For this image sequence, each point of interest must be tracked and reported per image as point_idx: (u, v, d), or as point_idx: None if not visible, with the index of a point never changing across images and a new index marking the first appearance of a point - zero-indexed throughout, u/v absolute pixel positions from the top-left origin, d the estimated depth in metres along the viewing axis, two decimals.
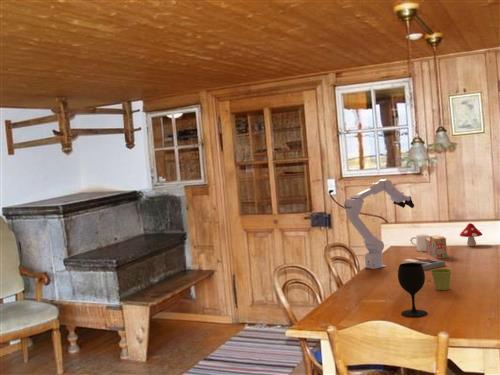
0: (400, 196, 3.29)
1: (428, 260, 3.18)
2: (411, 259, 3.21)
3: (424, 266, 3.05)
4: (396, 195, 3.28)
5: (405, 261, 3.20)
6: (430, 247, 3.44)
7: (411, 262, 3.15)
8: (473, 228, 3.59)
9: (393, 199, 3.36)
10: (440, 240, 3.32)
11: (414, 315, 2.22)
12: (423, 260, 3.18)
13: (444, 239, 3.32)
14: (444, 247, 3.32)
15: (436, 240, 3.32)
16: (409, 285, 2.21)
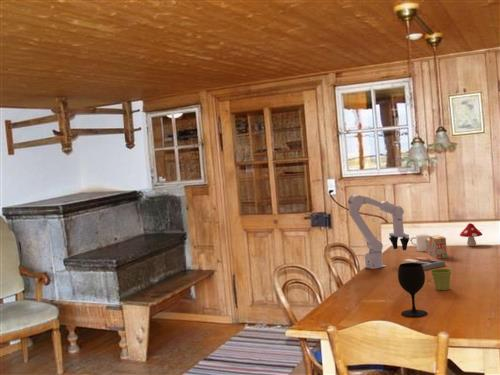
0: (401, 231, 3.23)
1: (428, 260, 3.18)
2: (411, 259, 3.21)
3: (424, 266, 3.05)
4: (399, 227, 3.23)
5: (405, 261, 3.20)
6: (430, 247, 3.44)
7: (411, 262, 3.15)
8: (473, 228, 3.59)
9: (392, 234, 3.29)
10: (440, 240, 3.32)
11: (414, 315, 2.22)
12: (423, 260, 3.18)
13: (444, 239, 3.32)
14: (444, 247, 3.32)
15: (436, 240, 3.32)
16: (409, 285, 2.21)
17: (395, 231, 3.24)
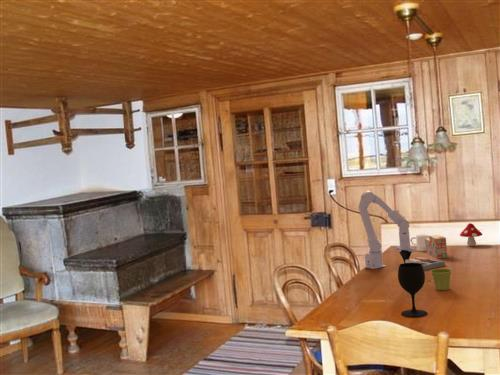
0: (408, 245, 3.19)
1: (428, 260, 3.18)
2: (412, 259, 3.20)
3: (424, 266, 3.05)
4: (405, 240, 3.19)
5: (406, 261, 3.19)
6: (430, 247, 3.44)
7: (412, 262, 3.15)
8: (473, 228, 3.59)
9: (398, 247, 3.25)
10: (440, 240, 3.32)
11: (414, 315, 2.22)
12: (423, 260, 3.18)
13: (444, 239, 3.32)
14: (444, 247, 3.33)
15: (436, 240, 3.32)
16: (409, 285, 2.21)
17: (401, 245, 3.20)
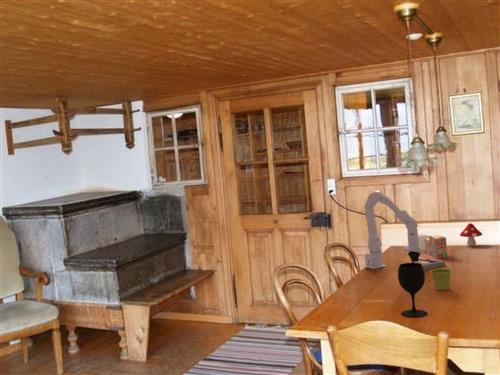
0: (416, 246, 3.13)
1: (428, 260, 3.18)
2: (421, 261, 3.14)
3: (424, 266, 3.05)
4: (414, 242, 3.13)
5: None
6: (430, 247, 3.44)
7: None
8: (473, 228, 3.59)
9: (406, 248, 3.19)
10: (440, 240, 3.33)
11: (414, 315, 2.22)
12: (423, 260, 3.18)
13: (444, 239, 3.33)
14: (444, 247, 3.33)
15: (436, 240, 3.33)
16: (409, 285, 2.21)
17: (410, 246, 3.14)
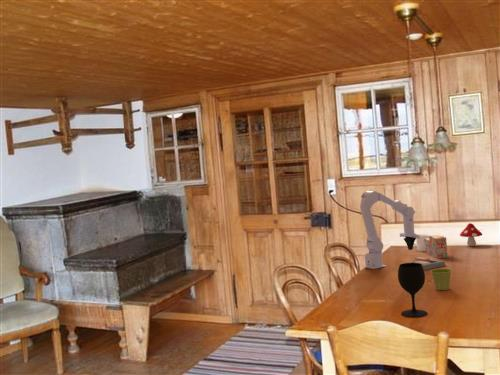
0: (412, 231, 3.26)
1: (428, 260, 3.18)
2: (421, 261, 3.14)
3: (424, 266, 3.05)
4: (410, 227, 3.26)
5: None
6: (430, 247, 3.45)
7: None
8: (473, 228, 3.59)
9: (402, 234, 3.33)
10: (440, 240, 3.33)
11: (414, 315, 2.22)
12: (422, 260, 3.18)
13: (444, 239, 3.33)
14: (444, 247, 3.33)
15: (437, 240, 3.33)
16: (409, 285, 2.21)
17: (406, 231, 3.27)
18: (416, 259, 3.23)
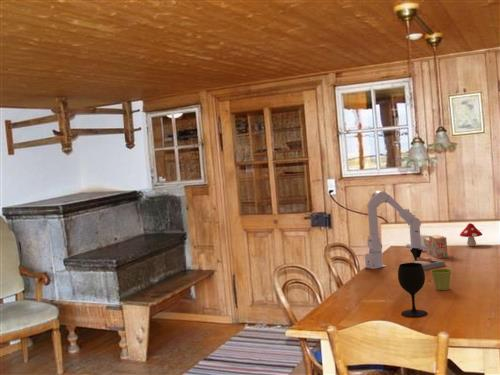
0: (419, 243, 3.22)
1: (429, 260, 3.17)
2: (421, 261, 3.14)
3: (424, 266, 3.05)
4: (416, 239, 3.22)
5: None
6: (430, 247, 3.45)
7: None
8: (473, 228, 3.59)
9: None
10: (441, 240, 3.33)
11: (414, 315, 2.22)
12: (424, 260, 3.17)
13: (445, 239, 3.33)
14: (445, 246, 3.33)
15: (437, 240, 3.33)
16: (409, 285, 2.21)
17: (412, 243, 3.23)
18: (418, 259, 3.22)
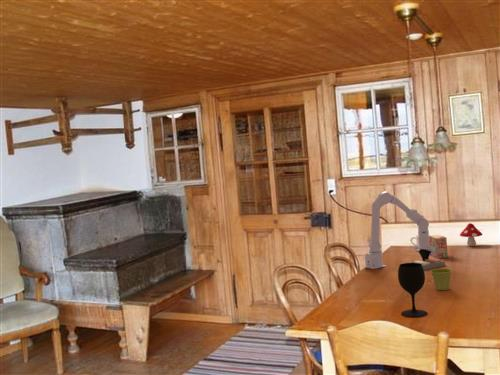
0: (427, 244, 3.16)
1: None
2: (421, 261, 3.14)
3: (424, 266, 3.05)
4: (425, 240, 3.16)
5: None
6: None
7: None
8: (473, 228, 3.59)
9: (417, 246, 3.23)
10: (441, 239, 3.33)
11: (414, 315, 2.22)
12: (434, 262, 3.11)
13: (445, 238, 3.33)
14: (445, 246, 3.34)
15: (437, 240, 3.33)
16: (409, 285, 2.21)
17: (421, 244, 3.17)
18: (426, 261, 3.16)
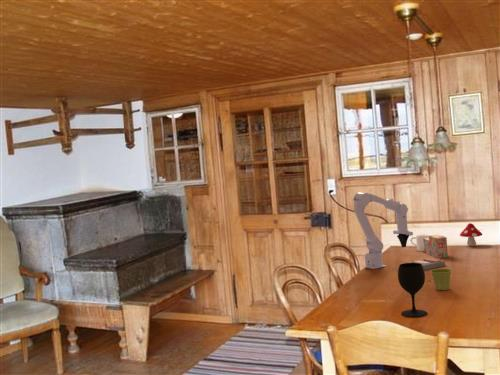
0: (405, 228, 3.25)
1: None
2: (421, 261, 3.14)
3: (424, 266, 3.05)
4: (403, 224, 3.25)
5: None
6: (429, 247, 3.45)
7: (422, 264, 3.08)
8: (473, 228, 3.59)
9: (396, 231, 3.32)
10: (441, 239, 3.34)
11: (414, 315, 2.22)
12: (434, 262, 3.11)
13: (445, 238, 3.34)
14: (445, 246, 3.34)
15: (437, 239, 3.34)
16: (409, 285, 2.21)
17: (399, 228, 3.26)
18: (426, 261, 3.16)
